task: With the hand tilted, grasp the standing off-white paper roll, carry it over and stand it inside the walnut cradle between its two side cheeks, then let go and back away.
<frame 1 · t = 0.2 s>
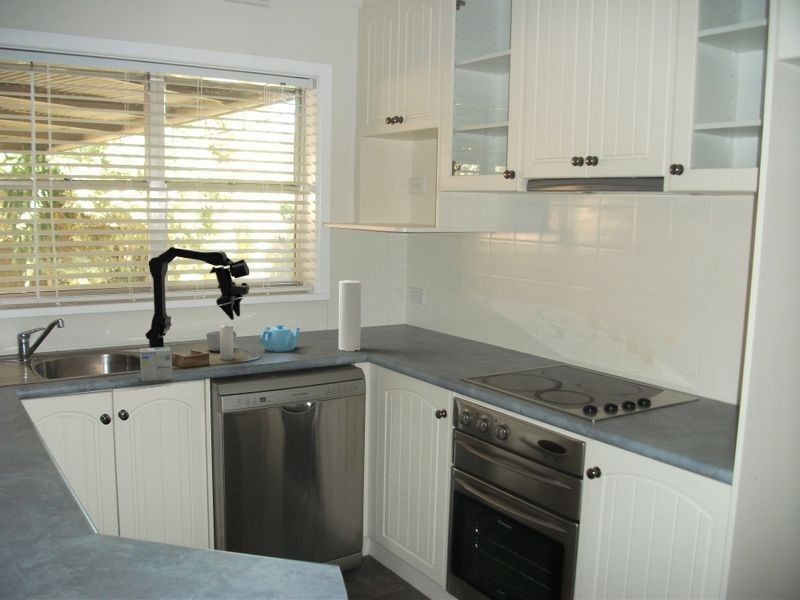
hand: (235, 317, 314), 15 cm above the countertop, tool tilted 15°, fingers open, 9 cm apart
paper roll: (226, 358, 308), on the countertop
cylinder container: (349, 349, 332), on the countertop
teacup: (222, 350, 325), on the countertop
teapot: (280, 349, 329), on the countertop
cradle: (189, 363, 298), on the countertop
light bulb box: (156, 379, 272), on the countertop
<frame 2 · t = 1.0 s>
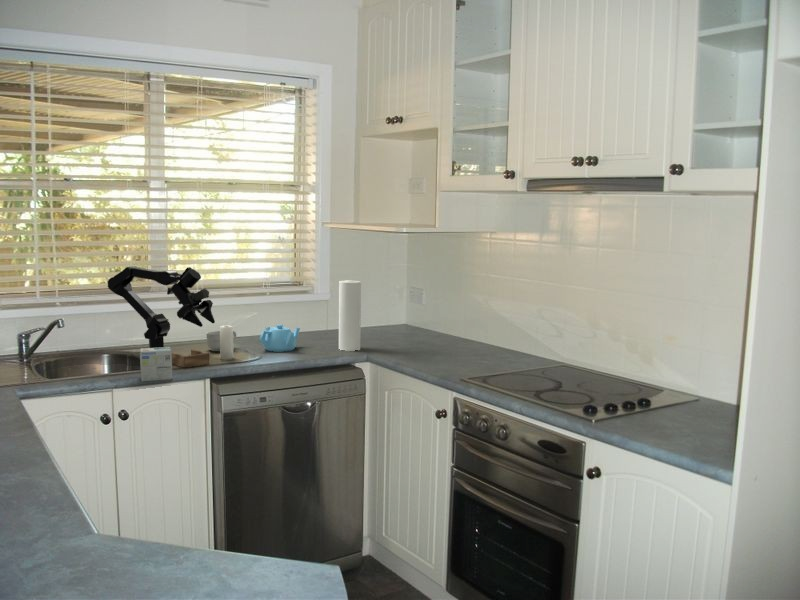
hand: (208, 324, 309), 13 cm above the countertop, tool tilted 45°, fingers open, 9 cm apart
nothing on the countertop moved.
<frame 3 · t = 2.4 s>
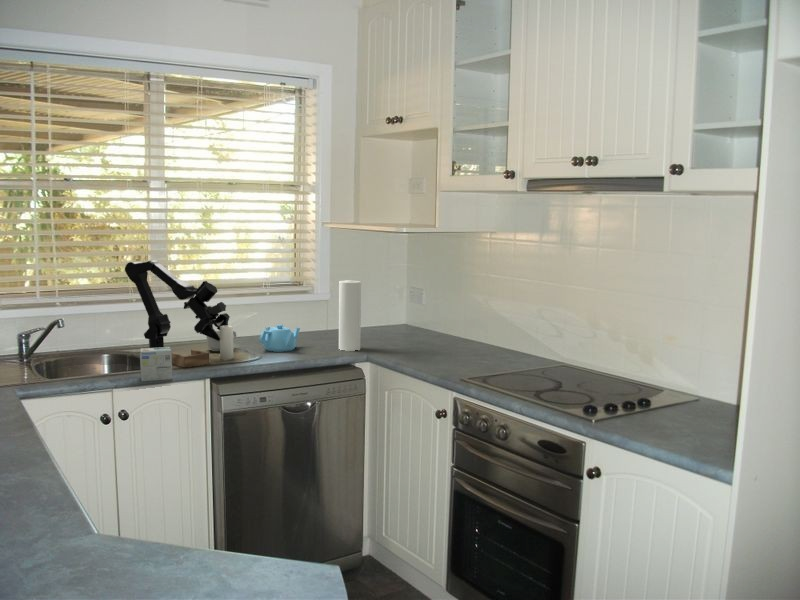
hand: (225, 338, 307), 8 cm above the countertop, tool tilted 45°, fingers open, 9 cm apart
nothing on the countertop moved.
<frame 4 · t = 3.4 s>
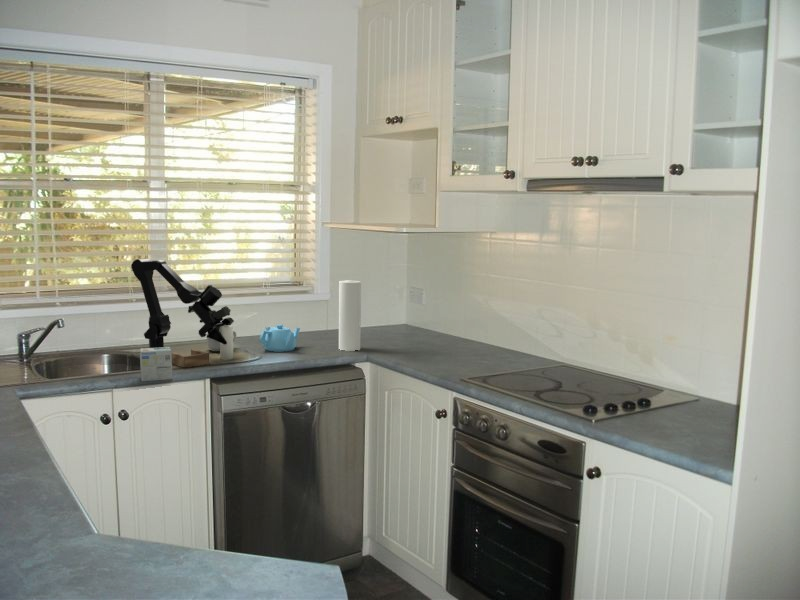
hand: (229, 342, 307), 7 cm above the countertop, tool tilted 45°, fingers closed on paper roll, 5 cm apart
paper roll: (226, 358, 308), on the countertop, touching gripper
everything else where it was.
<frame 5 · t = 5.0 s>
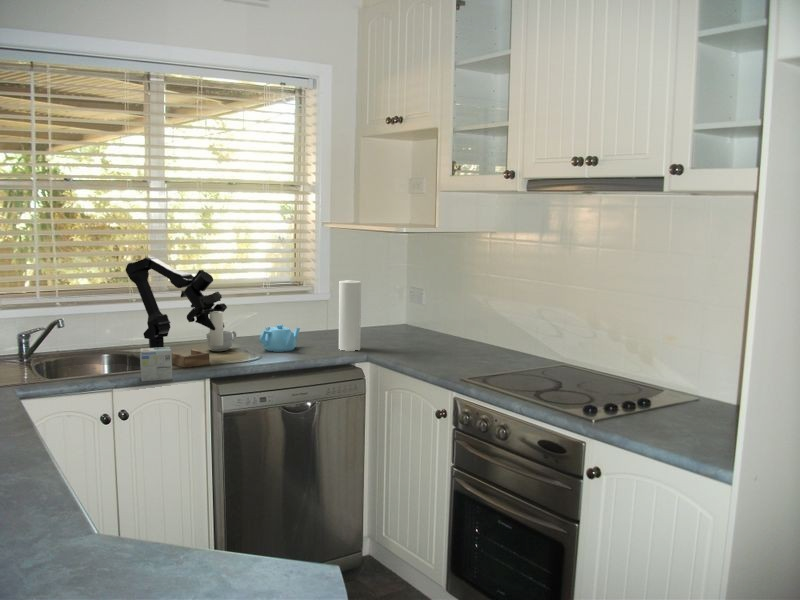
hand: (219, 328, 302), 13 cm above the countertop, tool tilted 45°, fingers closed on paper roll, 5 cm apart
paper roll: (216, 344, 304), point 6 cm above the countertop, touching gripper
everything else where it was.
when the fingers open (9 cm above the countertop, at t = 6.7 s): paper roll drops 1 cm, resting on cradle.
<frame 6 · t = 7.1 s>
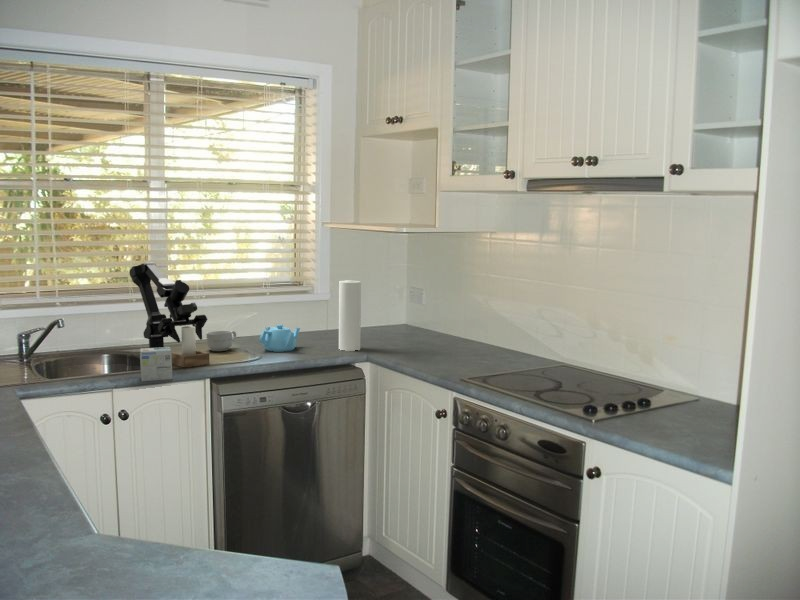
hand: (190, 340, 295), 9 cm above the countertop, tool tilted 45°, fingers open, 9 cm apart
paper roll: (189, 360, 297), point 1 cm above the countertop, touching cradle
everything else where it was.
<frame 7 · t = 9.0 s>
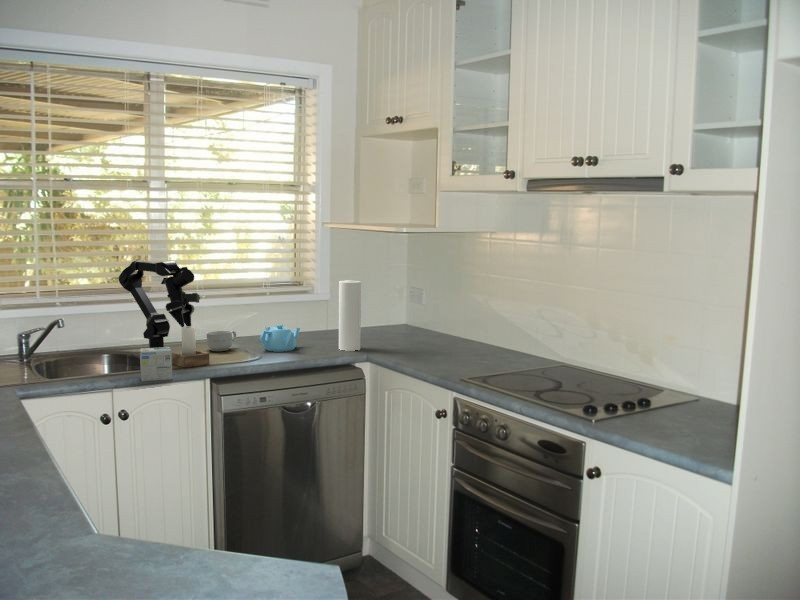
hand: (186, 327, 306), 12 cm above the countertop, tool tilted 25°, fingers open, 9 cm apart
nothing on the countertop moved.
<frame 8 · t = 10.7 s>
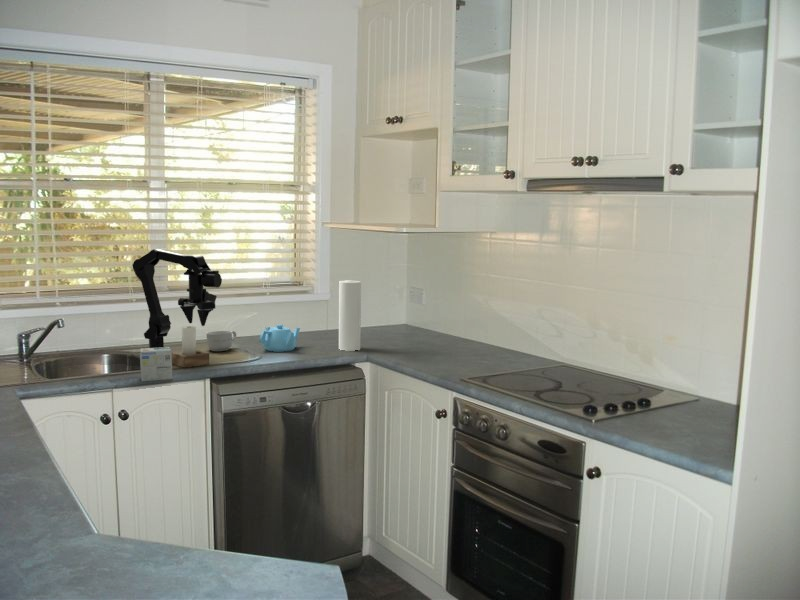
hand: (196, 324, 310), 13 cm above the countertop, tool pointing down, fingers open, 9 cm apart
nothing on the countertop moved.
at the end: paper roll inside the target area on the cradle (0.2 cm from its centre), point 1.2 cm above the cradle's base; paper roll tilted 1°; the gripper is holding nothing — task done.
